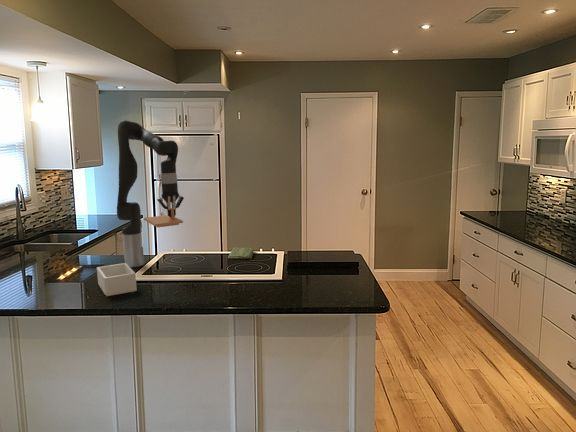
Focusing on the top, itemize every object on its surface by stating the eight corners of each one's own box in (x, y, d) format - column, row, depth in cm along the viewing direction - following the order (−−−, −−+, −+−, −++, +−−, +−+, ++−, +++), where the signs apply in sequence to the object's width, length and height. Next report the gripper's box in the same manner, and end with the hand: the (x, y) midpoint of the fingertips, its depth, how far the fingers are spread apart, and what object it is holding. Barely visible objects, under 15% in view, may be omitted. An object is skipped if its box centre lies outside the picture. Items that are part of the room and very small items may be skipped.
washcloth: (227, 260, 264) (226, 254, 263) (232, 252, 281) (232, 246, 280) (251, 260, 263) (251, 254, 262) (255, 251, 280) (255, 246, 279)
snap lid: (170, 218, 254) (169, 205, 252) (183, 224, 236) (182, 210, 235) (144, 221, 247) (143, 208, 246) (155, 228, 229) (153, 213, 228)
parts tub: (127, 279, 234) (125, 262, 232) (136, 290, 217) (135, 273, 215) (98, 284, 228) (96, 267, 226) (105, 296, 210) (104, 278, 209)
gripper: (180, 180, 247) (182, 214, 250) (153, 182, 240) (156, 217, 243) (185, 181, 240) (187, 216, 243) (157, 183, 234) (160, 219, 237)
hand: (171, 216), depth 243 cm, fingers closed on snap lid, 1 cm apart
